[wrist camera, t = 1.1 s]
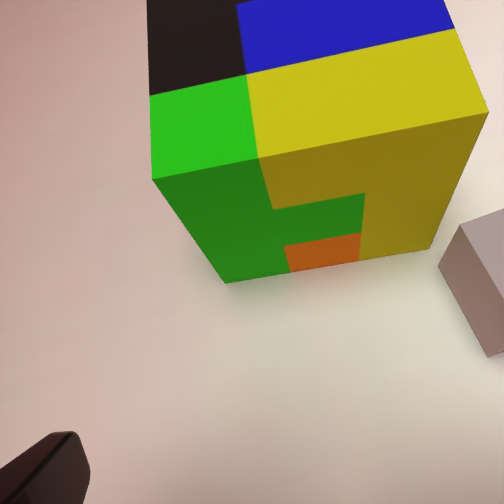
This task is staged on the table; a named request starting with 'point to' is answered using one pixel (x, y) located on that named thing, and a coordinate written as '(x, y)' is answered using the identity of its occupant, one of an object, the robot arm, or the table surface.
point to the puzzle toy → (308, 127)
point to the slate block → (479, 277)
